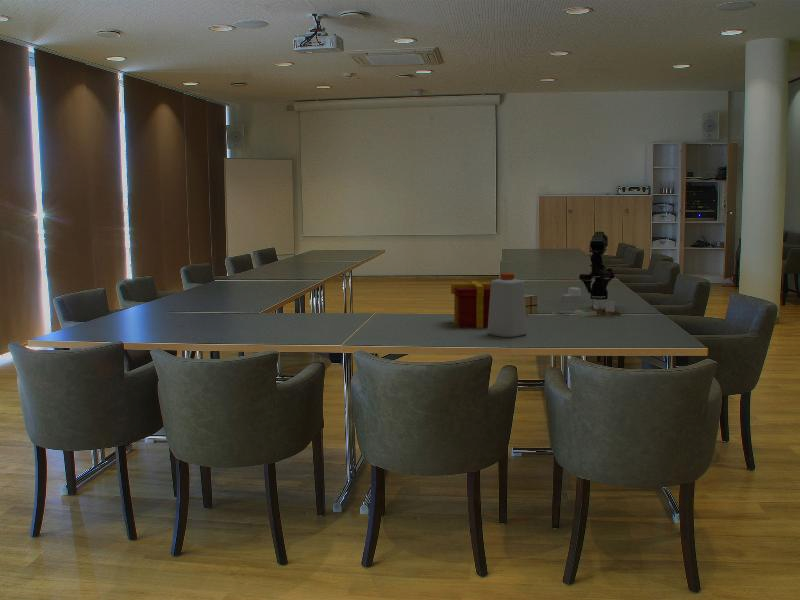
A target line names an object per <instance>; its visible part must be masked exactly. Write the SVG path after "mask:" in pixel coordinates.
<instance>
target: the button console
mask: <svg viewBox="0 0 800 600" xmlns="http://www.w3.org/2000/svg"><path fill="white" fill-rule="evenodd" d="M574 312H575V313H574V315H577V316H581V317H589V316H590V317H591V316H592V317H593V316H597V315H598V314H597V312H596V311H591V310H590V312H582V309H580V310H579V309H578V310H574Z"/></svg>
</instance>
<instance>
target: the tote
mask: <svg viewBox="0 0 800 600" xmlns="http://www.w3.org/2000/svg"><path fill="white" fill-rule="evenodd" d="M564 312H570V313H569V314H565V313H564ZM550 314H551V315H556V316H560V317H570V316H572V315H573V314H575V311H571V310H563V311H561V312H558V311H551V312H550Z"/></svg>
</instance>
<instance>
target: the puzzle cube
mask: <svg viewBox="0 0 800 600" xmlns="http://www.w3.org/2000/svg"><path fill="white" fill-rule="evenodd" d="M525 309H526V315H531V314H532V315H533V314H537V313H538V295H536V294H528V293H525Z"/></svg>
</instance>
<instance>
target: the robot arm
mask: <svg viewBox="0 0 800 600" xmlns="http://www.w3.org/2000/svg"><path fill="white" fill-rule="evenodd" d="M608 239H609V238H608V236H607V235H606V234H605V232H604V231H595V232H594V235H592V236H591V240H590V241H589V253H591V256H590V262H591V264H589V267H590V268H591V271H590V272H589V273H580V274H579V276H578V279H579V280H580V281H581V282H582V283H583V284H584V287H585V289H586V291H587V292H588V294H590V300H593V299H606V300H608V289H607V286H608V285H609V283H610V282H611V281H613V279H615V273H614V270H613V268H612V267H610V268H606V267H605V266H606V265H605V264H604V254H605V253H606V251H607V247H608V245H609V241H608ZM592 279H594V281H593V280H592ZM592 282H593V283H592Z"/></svg>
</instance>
